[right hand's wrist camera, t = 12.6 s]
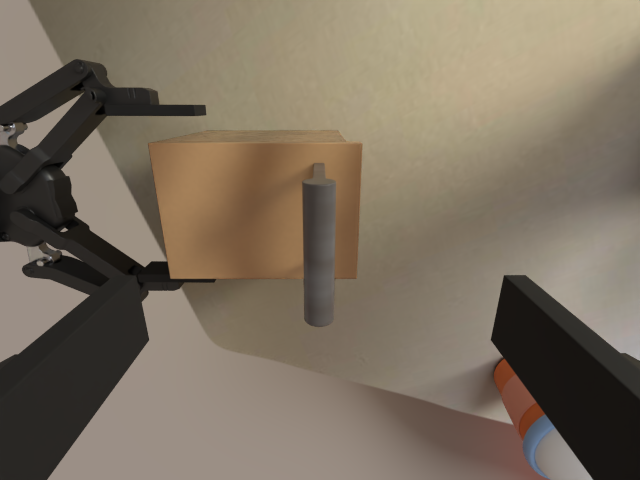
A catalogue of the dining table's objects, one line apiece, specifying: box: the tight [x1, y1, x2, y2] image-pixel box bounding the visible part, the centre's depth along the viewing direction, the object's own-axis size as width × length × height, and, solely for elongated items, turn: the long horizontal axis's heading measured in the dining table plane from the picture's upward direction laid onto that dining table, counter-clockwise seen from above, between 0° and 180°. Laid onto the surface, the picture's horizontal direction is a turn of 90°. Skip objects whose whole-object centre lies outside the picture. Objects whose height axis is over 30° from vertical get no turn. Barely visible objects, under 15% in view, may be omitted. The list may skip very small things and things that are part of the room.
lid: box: [148, 142, 362, 327], centre depth 21 cm, size 14×10×9 cm
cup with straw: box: [494, 359, 593, 480], centre depth 35 cm, size 9×9×18 cm
